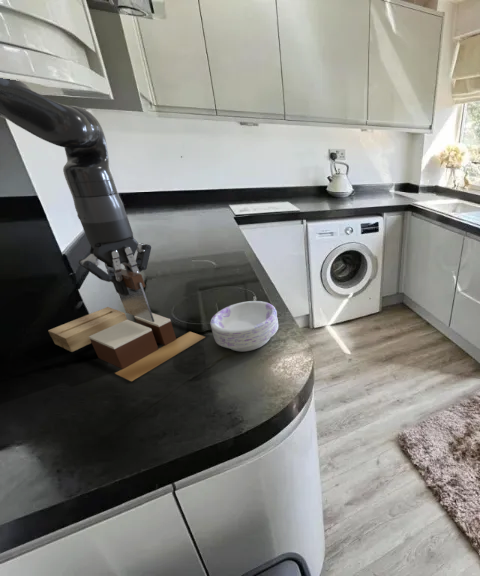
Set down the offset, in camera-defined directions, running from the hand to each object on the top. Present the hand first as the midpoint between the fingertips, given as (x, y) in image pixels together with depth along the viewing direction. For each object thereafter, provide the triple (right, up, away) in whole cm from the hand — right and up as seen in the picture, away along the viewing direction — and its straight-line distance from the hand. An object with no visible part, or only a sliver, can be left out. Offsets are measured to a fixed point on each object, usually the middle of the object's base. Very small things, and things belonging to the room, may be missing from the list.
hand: (131, 292), depth 73 cm
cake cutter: (0, -6, +3) cm, 7 cm away
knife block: (-16, -12, +9) cm, 22 cm away
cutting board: (-1, -14, +6) cm, 15 cm away
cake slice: (+1, -12, +8) cm, 14 cm away
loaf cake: (-2, -14, +2) cm, 15 cm away
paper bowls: (+23, -13, +10) cm, 28 cm away
